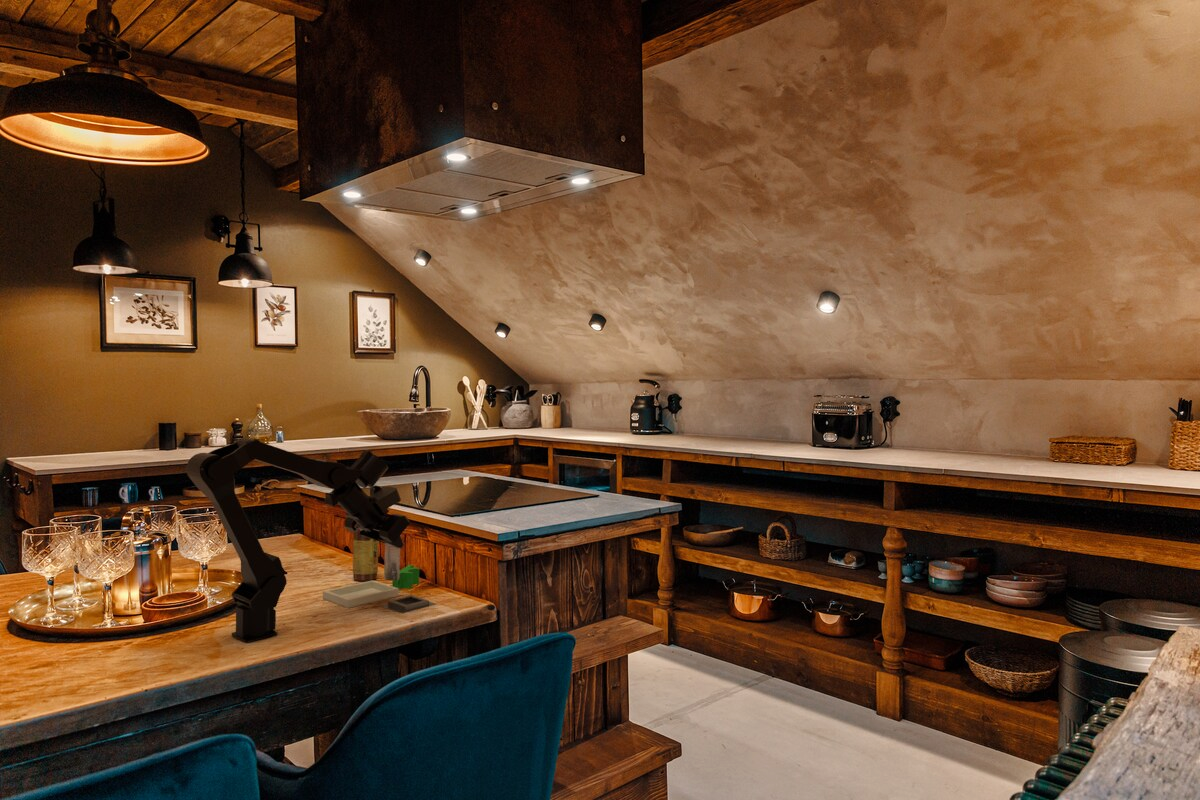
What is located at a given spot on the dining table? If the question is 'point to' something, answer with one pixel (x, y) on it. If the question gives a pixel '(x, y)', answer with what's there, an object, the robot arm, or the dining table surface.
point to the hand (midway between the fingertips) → (397, 545)
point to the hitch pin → (391, 562)
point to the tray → (360, 594)
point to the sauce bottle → (364, 557)
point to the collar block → (407, 604)
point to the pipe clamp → (407, 577)
